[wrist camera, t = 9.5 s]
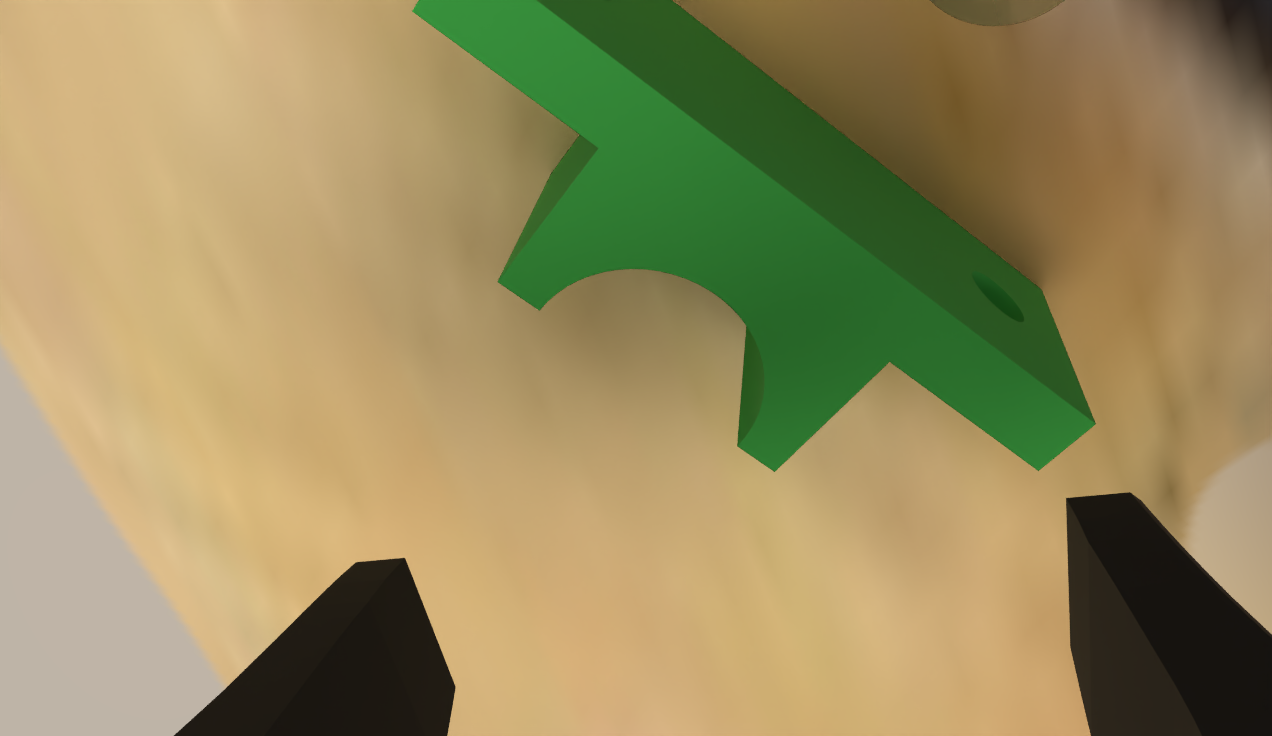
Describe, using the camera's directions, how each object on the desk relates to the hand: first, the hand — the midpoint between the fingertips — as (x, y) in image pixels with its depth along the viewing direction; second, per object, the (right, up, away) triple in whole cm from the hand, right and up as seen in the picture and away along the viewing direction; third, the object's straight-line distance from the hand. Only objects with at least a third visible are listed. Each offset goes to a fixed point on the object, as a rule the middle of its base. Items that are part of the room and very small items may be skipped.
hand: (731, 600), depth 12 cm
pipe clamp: (+1, +6, +8) cm, 10 cm away
